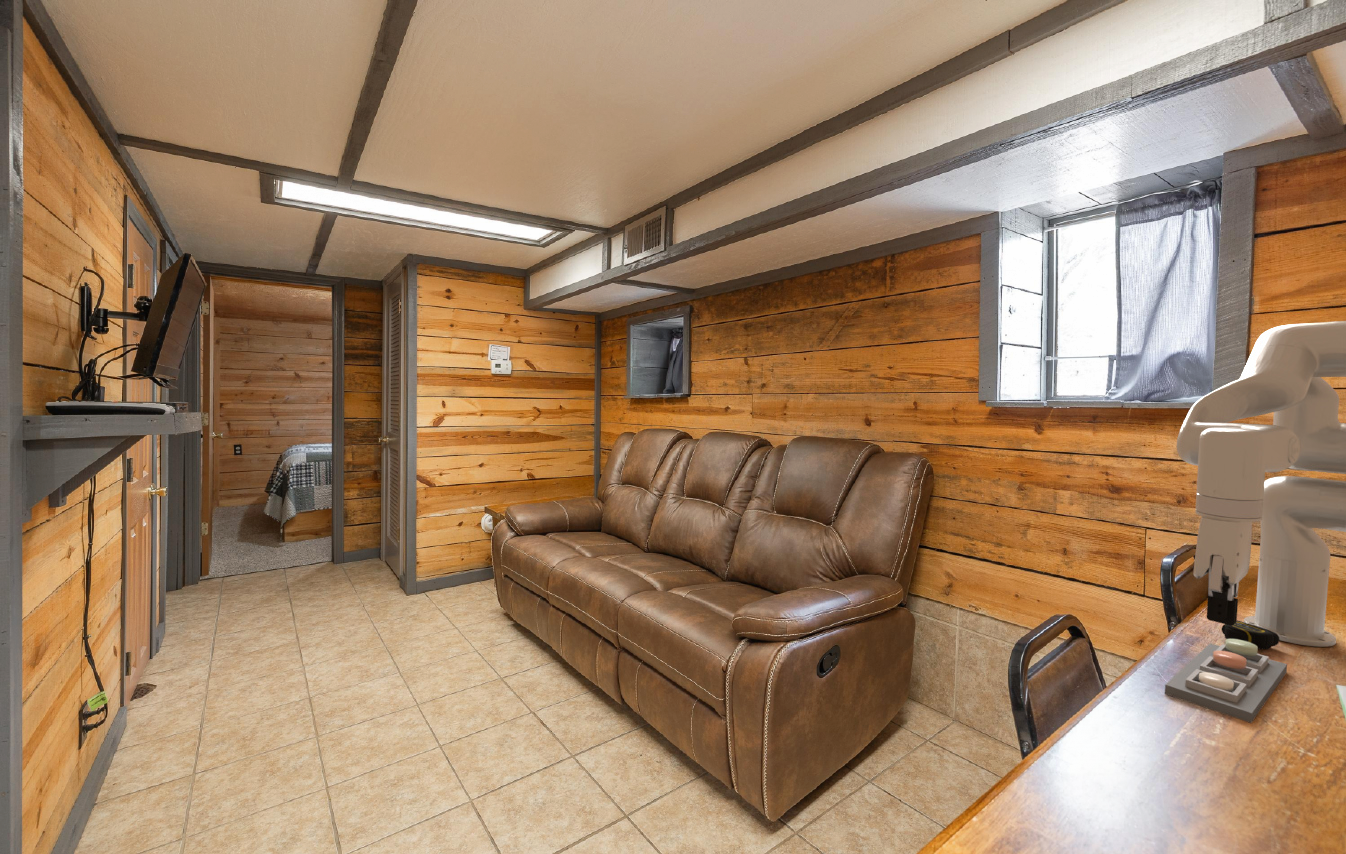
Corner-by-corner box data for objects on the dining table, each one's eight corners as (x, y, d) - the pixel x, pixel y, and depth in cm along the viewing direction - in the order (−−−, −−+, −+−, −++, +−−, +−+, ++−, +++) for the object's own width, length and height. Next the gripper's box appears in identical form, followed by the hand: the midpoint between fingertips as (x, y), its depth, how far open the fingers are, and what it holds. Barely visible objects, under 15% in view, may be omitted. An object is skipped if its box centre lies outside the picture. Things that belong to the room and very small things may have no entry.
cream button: (1202, 676, 95) (1202, 669, 95) (1236, 687, 91) (1236, 679, 91) (1195, 684, 92) (1195, 676, 92) (1229, 694, 89) (1230, 687, 89)
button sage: (1228, 643, 104) (1228, 636, 104) (1259, 651, 101) (1260, 644, 100) (1222, 649, 101) (1222, 642, 101) (1254, 657, 98) (1254, 650, 98)
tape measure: (1281, 650, 109) (1282, 631, 109) (1257, 655, 107) (1259, 635, 107) (1236, 635, 115) (1237, 617, 115) (1213, 640, 113) (1214, 621, 113)
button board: (1209, 651, 108) (1210, 637, 108) (1286, 672, 100) (1287, 657, 100) (1164, 693, 93) (1165, 677, 93) (1251, 722, 85) (1252, 705, 85)
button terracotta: (1216, 655, 99) (1216, 648, 99) (1248, 664, 96) (1249, 657, 96) (1209, 661, 97) (1210, 654, 97) (1242, 671, 94) (1243, 663, 94)
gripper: (1209, 496, 97) (1203, 602, 99) (1182, 510, 89) (1176, 626, 90) (1272, 504, 91) (1265, 616, 93) (1250, 519, 83) (1242, 643, 84)
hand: (1221, 621), depth 91 cm, fingers closed
